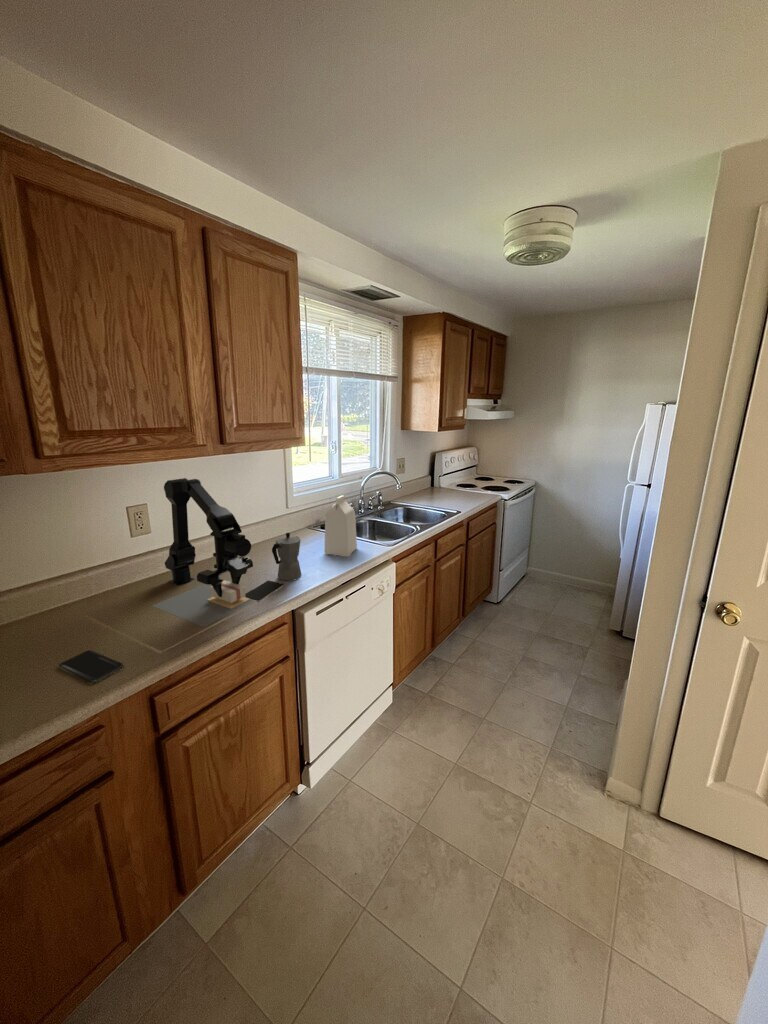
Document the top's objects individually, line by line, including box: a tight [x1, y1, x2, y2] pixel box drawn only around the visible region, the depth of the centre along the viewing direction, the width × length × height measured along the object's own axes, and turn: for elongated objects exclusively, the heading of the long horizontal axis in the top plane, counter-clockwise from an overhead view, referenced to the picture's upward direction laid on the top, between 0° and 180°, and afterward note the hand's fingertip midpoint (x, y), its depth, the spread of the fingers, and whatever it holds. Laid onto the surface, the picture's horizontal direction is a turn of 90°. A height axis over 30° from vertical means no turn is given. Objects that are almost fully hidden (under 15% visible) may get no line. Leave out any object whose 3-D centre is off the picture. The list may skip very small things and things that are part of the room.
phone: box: [58, 649, 124, 684], centre depth 104 cm, size 8×1×15 cm
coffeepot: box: [271, 532, 302, 581], centre depth 159 cm, size 15×9×18 cm, turn 153°
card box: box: [209, 579, 246, 603], centre depth 140 cm, size 10×6×4 cm, turn 60°
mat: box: [151, 583, 255, 628], centre depth 138 cm, size 26×20×1 cm
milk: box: [323, 495, 358, 557], centre depth 189 cm, size 12×12×26 cm
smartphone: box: [245, 580, 285, 603], centre depth 149 cm, size 8×1×15 cm
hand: (228, 593), depth 140 cm, fingers closed on card box, 6 cm apart
